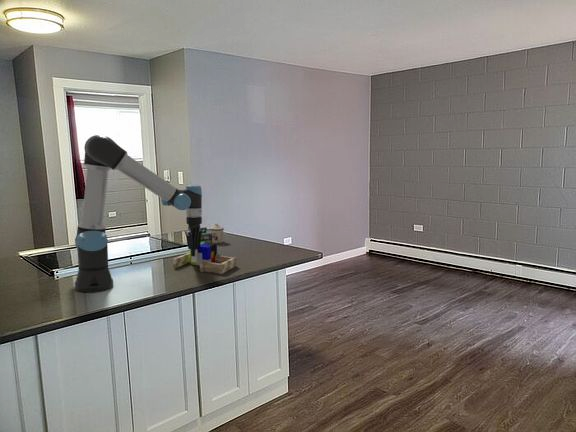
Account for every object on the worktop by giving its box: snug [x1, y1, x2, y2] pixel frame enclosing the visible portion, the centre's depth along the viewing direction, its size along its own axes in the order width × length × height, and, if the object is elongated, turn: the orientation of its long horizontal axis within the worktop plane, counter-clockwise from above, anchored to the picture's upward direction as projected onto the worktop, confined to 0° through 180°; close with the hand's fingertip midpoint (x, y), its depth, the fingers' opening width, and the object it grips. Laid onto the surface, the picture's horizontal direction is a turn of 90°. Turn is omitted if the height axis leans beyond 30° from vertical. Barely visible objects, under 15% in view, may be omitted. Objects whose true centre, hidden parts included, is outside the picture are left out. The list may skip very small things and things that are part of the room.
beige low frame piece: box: [172, 251, 237, 275], centre depth 220 cm, size 18×27×5 cm
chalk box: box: [201, 226, 212, 243], centre depth 247 cm, size 9×9×15 cm
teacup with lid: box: [209, 223, 227, 244], centre depth 274 cm, size 12×9×12 cm
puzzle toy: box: [190, 242, 218, 266], centre depth 226 cm, size 10×10×10 cm
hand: (194, 261), depth 219 cm, fingers closed
